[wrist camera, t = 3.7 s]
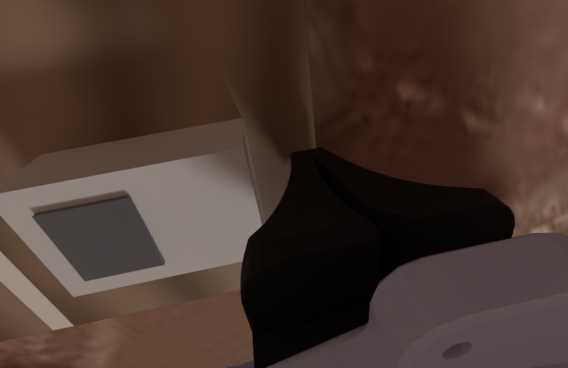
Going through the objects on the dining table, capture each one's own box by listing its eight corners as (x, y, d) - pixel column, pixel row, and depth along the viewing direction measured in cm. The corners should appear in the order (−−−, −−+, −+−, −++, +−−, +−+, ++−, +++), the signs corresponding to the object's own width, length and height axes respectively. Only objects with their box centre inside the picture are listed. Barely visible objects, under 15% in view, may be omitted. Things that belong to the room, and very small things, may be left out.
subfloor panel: (293, -63, 9) (299, -71, 8) (321, 259, 18) (326, 271, 17) (-432, 43, 8) (-509, 46, 7) (-29, 333, 17) (-43, 350, 16)
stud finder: (241, 117, 11) (244, 150, 9) (263, 212, 14) (269, 259, 11) (42, 154, 11) (-22, 200, 8) (103, 244, 14) (71, 301, 11)
